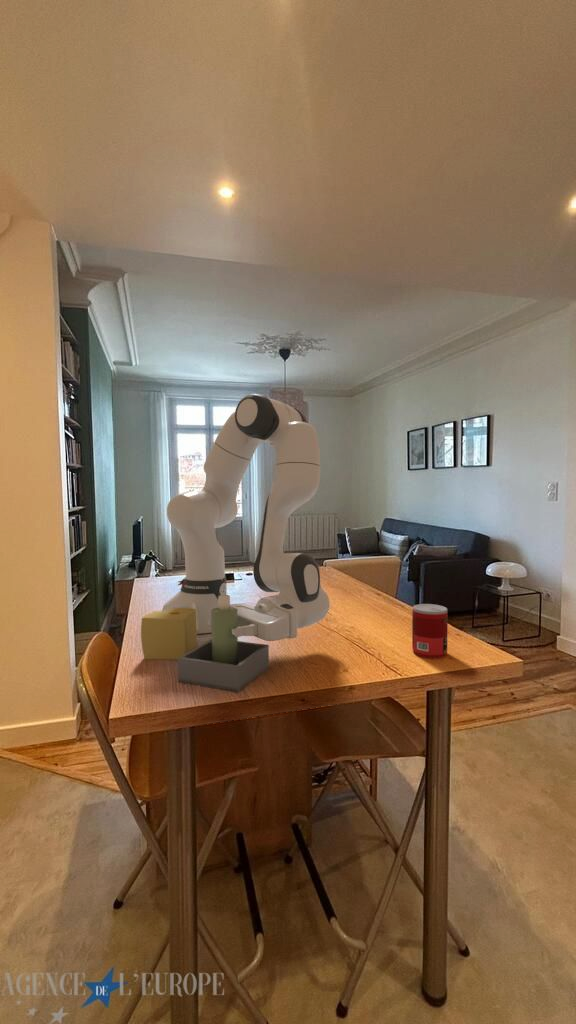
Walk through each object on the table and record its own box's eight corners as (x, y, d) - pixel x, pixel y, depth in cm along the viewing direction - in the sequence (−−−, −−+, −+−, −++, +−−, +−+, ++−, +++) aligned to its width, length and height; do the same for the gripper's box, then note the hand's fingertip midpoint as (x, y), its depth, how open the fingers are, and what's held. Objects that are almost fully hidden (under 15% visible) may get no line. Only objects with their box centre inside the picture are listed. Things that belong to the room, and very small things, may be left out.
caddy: (178, 681, 97) (177, 657, 97) (214, 659, 110) (213, 637, 110) (238, 692, 92) (238, 667, 92) (268, 667, 105) (268, 645, 104)
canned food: (452, 658, 109) (452, 611, 108) (417, 659, 109) (417, 611, 108) (441, 647, 117) (441, 603, 116) (408, 648, 117) (408, 603, 116)
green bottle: (207, 673, 99) (205, 597, 99) (220, 664, 105) (219, 592, 104) (230, 676, 97) (229, 599, 97) (242, 667, 102) (241, 594, 102)
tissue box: (158, 645, 120) (157, 606, 120) (199, 646, 119) (198, 607, 119) (140, 660, 110) (139, 617, 110) (185, 661, 109) (184, 618, 108)
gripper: (245, 594, 117) (195, 604, 108) (301, 610, 101) (249, 622, 92) (245, 619, 117) (196, 631, 108) (301, 639, 101) (249, 654, 92)
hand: (220, 627), depth 100 cm, fingers open, 8 cm apart
